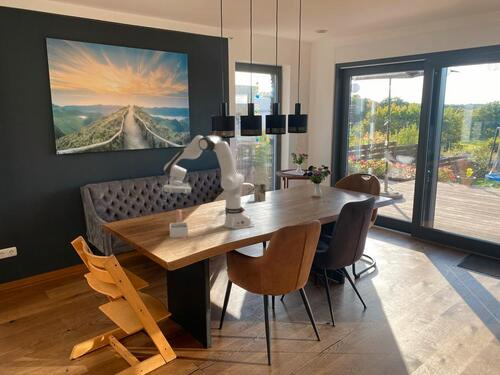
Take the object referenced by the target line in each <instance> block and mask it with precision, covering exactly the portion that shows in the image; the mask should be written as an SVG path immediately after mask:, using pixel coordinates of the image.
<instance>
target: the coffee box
mask: <svg viewBox="0 0 500 375" xmlns="http://www.w3.org/2000/svg"><path fill="white" fill-rule="evenodd" d="M253 199H254V200H253V202H256V203H261V202H266V184H264V183H258V184H257V183H256V184H254V185H253Z"/></svg>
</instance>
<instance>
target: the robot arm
mask: <svg viewBox="0 0 500 375" xmlns="http://www.w3.org/2000/svg"><path fill="white" fill-rule="evenodd" d="M203 152H215V154H216V157H217V161H218V163H219V167H220V170H221V171H220V173H221V181H220V187H221V188H222V189H223V190H224V191H227V192H226V195H225V207H224V208H225V209H224V214H225V218H224V224H223V226H224V227H225V228H227V229H232V230H239V229H246V228H253V227H255V223H254V222H253V221H252V220H251V217H250V216H249V215H248V214H247V213H246V212H245V211H246V210H245V208H244V207H243V206H242V204H241V200H242V191H243V185H244V182H245V176H244V175H243V174H242V173H240V172H236V169H235V168H236V161H235V159H234V155H233V152H232V149H231V147H230V144H229V143H228V142H227V141H225V140H224V139H223V137H221V136H220V135H217V134H214V135H206V136H203V135H200V134H198V135H196V136H195V137H193V139H192V140H191V142H190V143H189V144H188V146H186V147H185V148H181V149H180V150H179V151H178V152H177V153H176V154H175V155H174V156H173V157H172V158H171V159H170V160H169V161H168V162H167V163H166V164H165V165H164V167H163V173H164V174H165V175H166V176H169V177H170V178H169V182H168V183H169V184H164V185H162V188H163V191H164V192H165V193H170V194H173V193H179V194H180V193H183V195H184V194H190V193H192V188H191V186H190V185H189V183H188V182H185V181H186V179H187V178H188V170H187V169H186V168H184V167H181V166H179V165H178V164H177V163H178V162H179V161H180V160H183V159H187V160H196V159H198V158H199V157H200V156H201V155H202V154H203Z"/></svg>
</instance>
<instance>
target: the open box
mask: <svg viewBox="0 0 500 375" xmlns="http://www.w3.org/2000/svg"><path fill="white" fill-rule="evenodd" d="M188 227H189V226H188V222H182V223H176V222H171V223H169V238H170V239H171V238H173V239H174V238H175V239H176V238H189V231H188V229H189V228H188Z"/></svg>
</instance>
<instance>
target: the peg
mask: <svg viewBox="0 0 500 375" xmlns="http://www.w3.org/2000/svg"><path fill="white" fill-rule="evenodd" d="M182 215H183V214H182V209H175V223H183V220H182V218H183V217H182Z"/></svg>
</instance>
